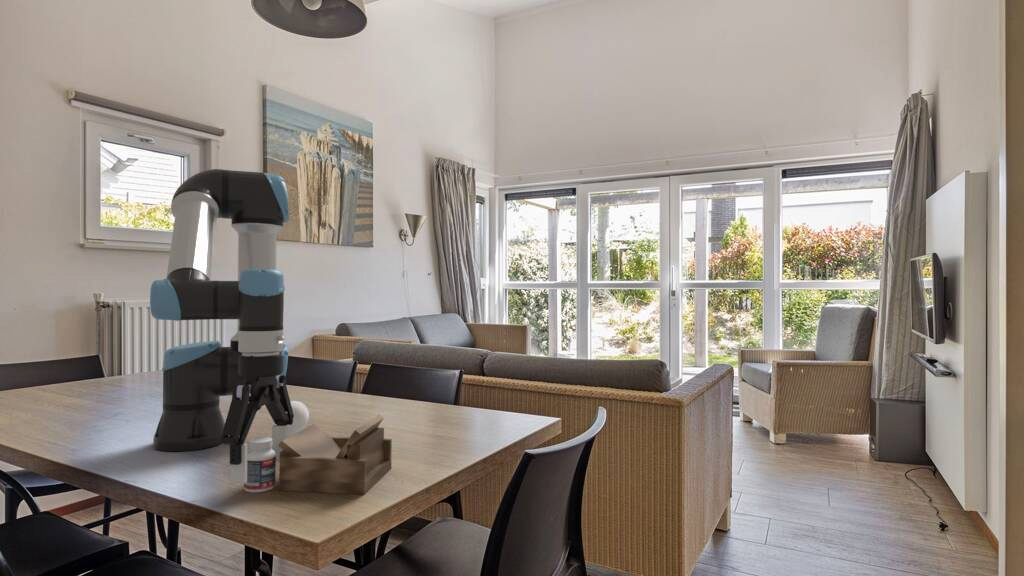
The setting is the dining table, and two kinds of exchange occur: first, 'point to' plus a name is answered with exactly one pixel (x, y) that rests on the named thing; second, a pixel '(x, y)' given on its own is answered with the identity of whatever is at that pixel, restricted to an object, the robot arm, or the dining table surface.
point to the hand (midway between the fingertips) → (260, 470)
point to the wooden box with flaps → (335, 460)
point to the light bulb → (298, 418)
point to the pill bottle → (260, 465)
